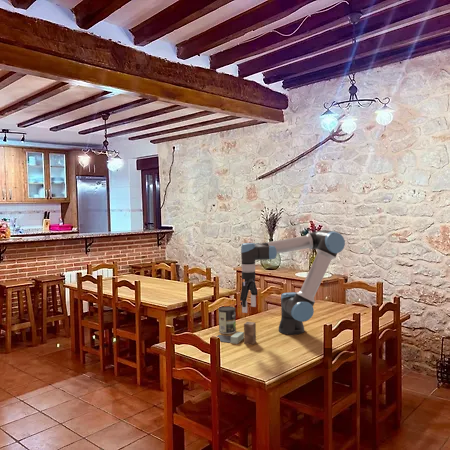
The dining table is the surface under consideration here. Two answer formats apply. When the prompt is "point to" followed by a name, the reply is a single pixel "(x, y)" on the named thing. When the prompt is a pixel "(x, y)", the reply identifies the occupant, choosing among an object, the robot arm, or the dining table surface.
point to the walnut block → (250, 333)
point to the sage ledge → (237, 337)
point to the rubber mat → (224, 338)
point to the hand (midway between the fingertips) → (249, 309)
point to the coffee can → (227, 320)
